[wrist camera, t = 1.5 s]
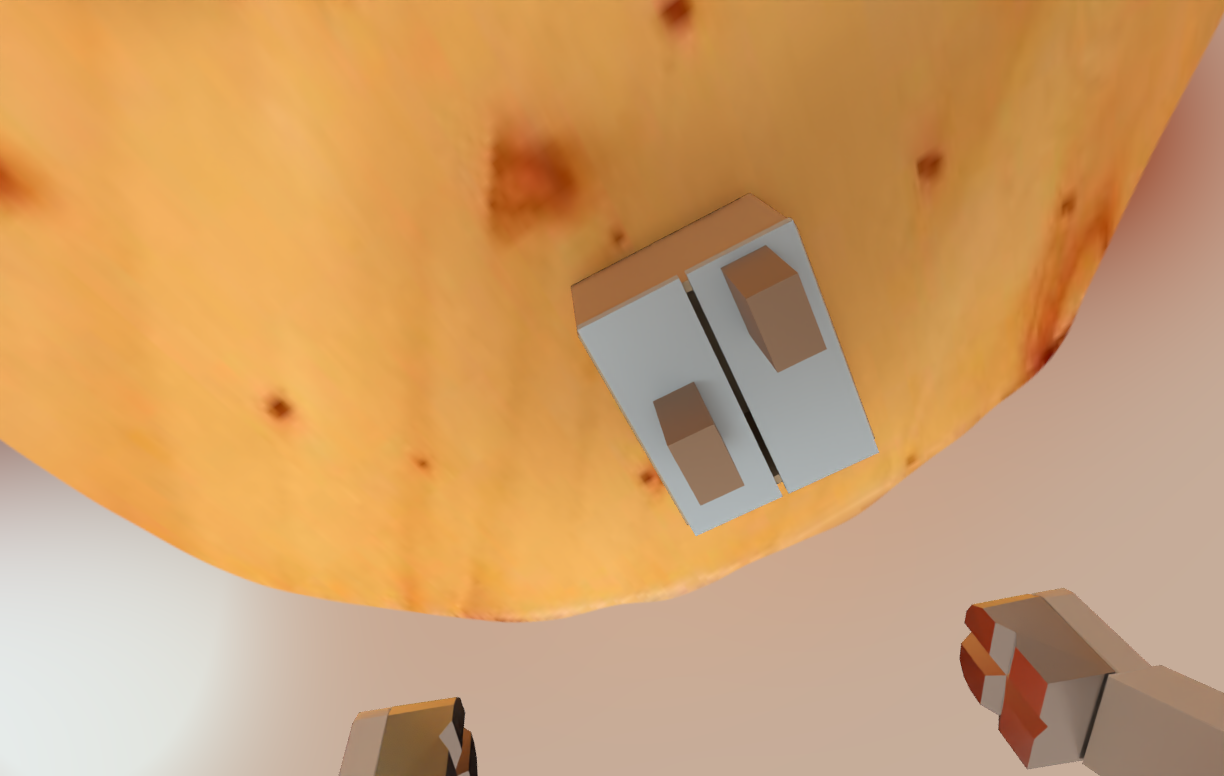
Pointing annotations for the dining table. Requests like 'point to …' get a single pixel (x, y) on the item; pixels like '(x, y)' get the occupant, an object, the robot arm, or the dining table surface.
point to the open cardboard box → (673, 260)
